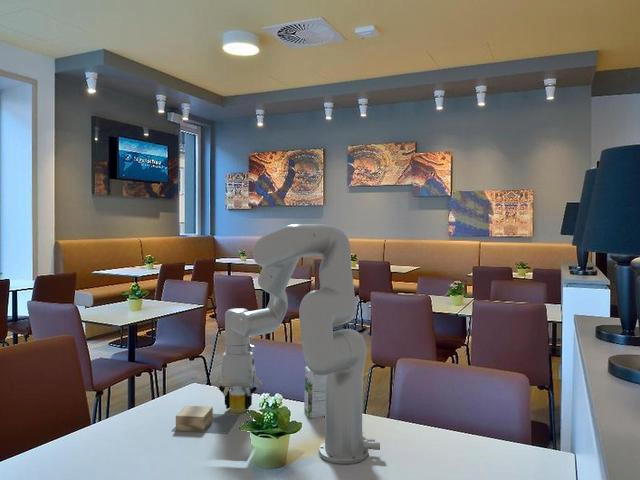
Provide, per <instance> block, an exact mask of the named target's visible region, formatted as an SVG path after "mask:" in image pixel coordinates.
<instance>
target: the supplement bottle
mask: <svg viewBox="0 0 640 480" xmlns="http://www.w3.org/2000/svg"><path fill="white" fill-rule="evenodd" d="M246 396H247V393H246V390H245V387H239V386H233V387H231V388H230V391H229V402H230V403H229V405H230V407H229V408H228V409H229V410H228V411H229V412H230V414H231V413H232V414H243V413H246V412H247V411H248V409H246V402H245V397H246Z"/></svg>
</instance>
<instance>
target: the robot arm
mask: <svg viewBox="0 0 640 480" xmlns="http://www.w3.org/2000/svg"><path fill="white" fill-rule="evenodd" d="M252 255H253V259H254V262H255V263H256V264H257V265H258V266H259V267H262V268H261V270H260V273H259V275H258V277H257V284H258V285H259V287H260V288H261V289H262V290H263V291H264V292H266V293H268V294H270V295H271V296H270V299H269V301H268V304H267V306H266V307H265V308H261V309H256V310H255V309H254V310H250V311H249V310H248V309H247V308H244V307H242V308H241V307H240V308H238V307H237V308H236V307H235V308H230V309H227V310H226V311H225V314H224V321H225V323H224V325H225V326H224V331H225V332H224V334H225V335H224V337H225V338H224V339H225V343H224V344H225V346H224V347H225V348H224V349H225V351H224V352H223V355H222V360H221V368H220V375H219V376H218V378H217V379H216V380H215V381H214V383H213V385H214V386H215V387H216V388H217V389H218V390H219V391H220V392H221V393H222V395H223V396H224V406H225V408H226V409H227V410H228V409H230V405H229V403H230V402H229V392H230V390H231V389H232V387H233V386H239V387H244V388H245V390H246V393H247V396H246V397H245V402H246V409H247V410H249V409H250V407H251V406H253V405H252V403H253V402H252V401H253V399H252V398H253V397H252V396H253V394H254V393H255V392H256V391H257V390H258V389H259V388H260V387H261V386H262V385H263V382H262V381H261V379H260V378H259V377H258V375H257V374H256V365H255V364H256V363H255V357H254V352H252V351H255V349H256V346H255V345H253V344H252V343H251V338H252V337H253V338H254V337H257V336H262V335H267V334H272V333H273V332H275V331H277V330H278V329H279V328H280V326H281V324H282V323H283V320H284V318H285V316H286V314H287V312H288V309H289V308H288V306H289V303H288V302H289V301H288V294H287V292H286V289H287V286H288V284H289V283H290V280H291V277H292V276H293V274H294V271H295V270H296V267H297V265H298V263H299V260H300V259H301V258H310V257H322V259H321V262H320V265H319V270H318V277H319V289H316V290H315V289H314V290H312V291H309V292H308V293H306V294H305V295H304V296H303V298H302V299H301V302H300V304H299V311H298V316H299V317H298V318H299V328H300V335H301V345H302V354H303V359H304V363H305V365H306V367H307V366H308V368H309V369H310V371H311V372H313V373H314V374H316V375H327V377H326V384H325V417H324V442H322V443H321V444H320V445H319V447H318V454H319V456H320V457H321V458H322V459H323V460H325V461H327V462H328V463H329V462H330V463H332V464H333V463H334V464H338V465H350V464H357V463H360V462H362V461H364V460H365V459H366V458H367V457H368V456H369V450H373V451H374V450H375V451H381V441H376V438H366V436H365V435H364V433H365V432H364V431H363V393H364V392H363V390H364V388H363V387H364V386H363V385H364V384H363V383H364V370H365V366H366V360H367V353H368V352H367V343H366V340H365V338H364V336H363V334H361V333H360V332H359V331H357V330H354V329H351V328H344V329H343V328H342V329H339V330H334V328H333V327H337V326H340V325H341V326H342V325H345V324H347V323H350V322H351V321H353V319H354V318H355V317H356V313H357V304H356V295H355V286H354V278H353V272H352V250H351V244H350V239H349V238H348V236H347V234H346V232H344V231H343V230H342V229H341V228H339V227H337V226H334V225H330V224H326V223H325V224H323V223H302V224H301V223H294V224H289V225H286V226H284V227H281V228H278V229H277V230H274V231H272V232H269V233H267V234H264V235H263V236H261V237H259V239H257V241H256V242H255V244H254V246H253V250H252ZM254 383H255V385H253V384H254ZM252 386H253V387H252Z"/></svg>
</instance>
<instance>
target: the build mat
mask: <svg viewBox="0 0 640 480" xmlns="http://www.w3.org/2000/svg"><path fill="white" fill-rule="evenodd" d="M240 417H241V414H231V413H229V414H227V413H225V414H224V413H213V421H212V422H211V423H210V424H209V425H208V427H207V428H206V429H205V430H204V431H187V430H176V426H174V428H173V429H172V430H171V432H172V433H175V432H177V433H179V432H180V433H197V434H219V435H220V434H221V435H228V434H229V432H230V431H231V430H232V428H233V427H234V426H235V424H236V423H237V421H238V419H239V418H240Z"/></svg>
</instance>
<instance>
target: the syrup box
mask: <svg viewBox="0 0 640 480" xmlns="http://www.w3.org/2000/svg"><path fill="white" fill-rule="evenodd" d="M326 377H327V375H316V374H314V373H313V372H311V371H310V369H309V368H308V366H307V365H306V366H304V395H303V396H304V399H303V400H304V405H303V406H304V409H303V411H304V413H305V415H306V417H308V419H317V417H318V418H325V417H324V416H325V384H326Z"/></svg>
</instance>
